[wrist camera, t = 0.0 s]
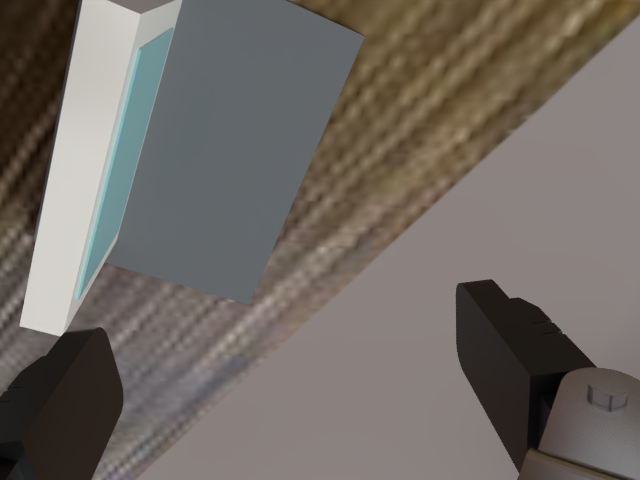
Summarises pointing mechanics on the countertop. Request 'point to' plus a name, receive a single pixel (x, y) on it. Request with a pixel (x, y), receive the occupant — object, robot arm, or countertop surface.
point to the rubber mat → (228, 140)
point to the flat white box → (96, 150)
